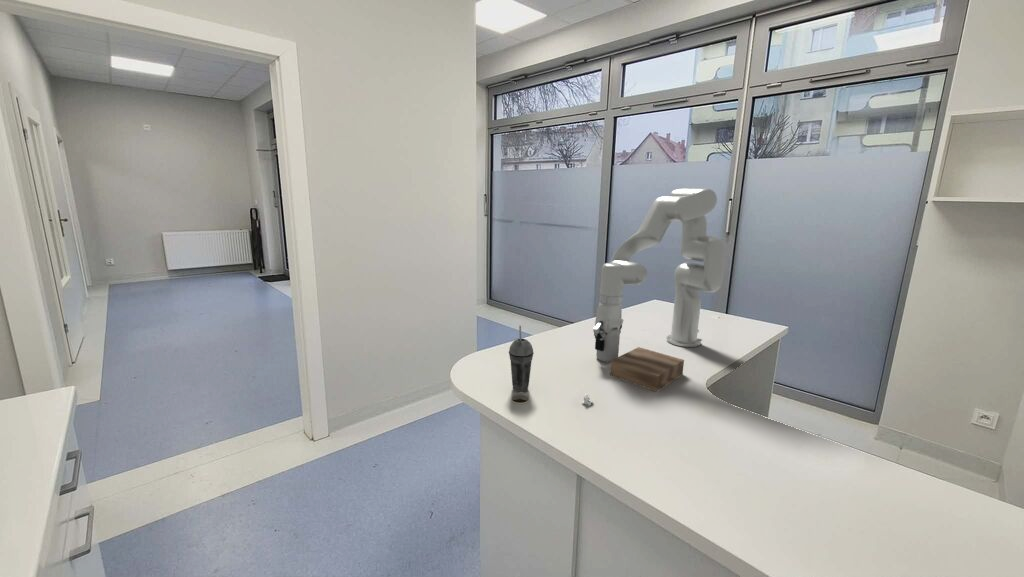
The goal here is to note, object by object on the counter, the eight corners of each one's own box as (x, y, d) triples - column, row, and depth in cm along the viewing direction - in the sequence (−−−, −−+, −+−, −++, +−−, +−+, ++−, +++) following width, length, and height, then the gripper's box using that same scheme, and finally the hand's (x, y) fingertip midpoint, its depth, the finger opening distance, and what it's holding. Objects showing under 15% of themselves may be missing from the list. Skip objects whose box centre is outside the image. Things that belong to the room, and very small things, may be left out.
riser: (637, 360, 148) (638, 347, 147) (682, 374, 137) (684, 359, 136) (609, 375, 136) (610, 360, 134) (656, 391, 125) (658, 376, 124)
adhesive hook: (586, 402, 119) (587, 391, 118) (594, 405, 117) (595, 395, 116) (580, 405, 117) (581, 395, 116) (588, 409, 115) (588, 398, 114)
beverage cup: (536, 386, 127) (538, 322, 122) (526, 396, 120) (528, 330, 116) (514, 381, 130) (515, 319, 125) (503, 391, 123) (504, 326, 119)
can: (593, 355, 152) (595, 323, 149) (613, 355, 153) (616, 323, 150) (599, 363, 145) (601, 330, 142) (620, 363, 145) (623, 330, 143)
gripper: (614, 293, 152) (611, 338, 156) (587, 301, 140) (583, 349, 144) (633, 297, 147) (629, 344, 151) (606, 305, 135) (602, 356, 139)
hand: (607, 346), depth 148 cm, fingers open, 9 cm apart
